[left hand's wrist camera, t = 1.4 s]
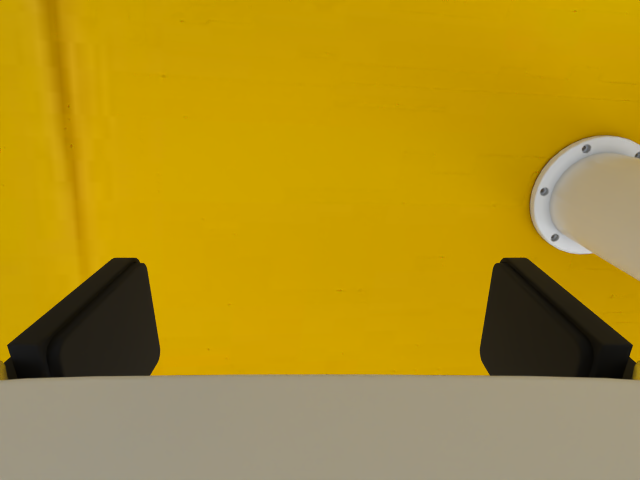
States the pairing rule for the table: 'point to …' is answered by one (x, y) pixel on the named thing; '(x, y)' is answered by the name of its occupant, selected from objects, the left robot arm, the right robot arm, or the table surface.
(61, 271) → the table surface
